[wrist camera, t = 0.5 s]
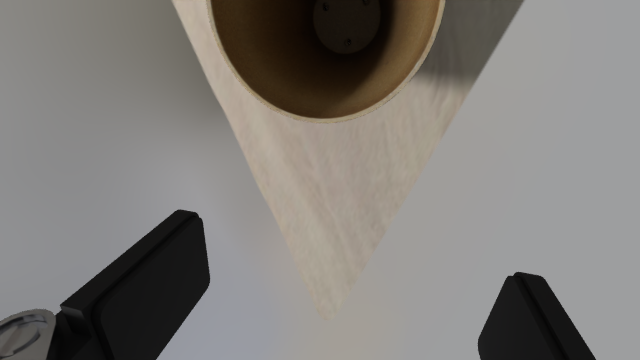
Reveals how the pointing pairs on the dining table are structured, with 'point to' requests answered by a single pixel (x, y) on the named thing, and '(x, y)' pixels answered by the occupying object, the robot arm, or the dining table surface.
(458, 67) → the dining table surface
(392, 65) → the plant pot
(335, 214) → the dining table surface
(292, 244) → the dining table surface
